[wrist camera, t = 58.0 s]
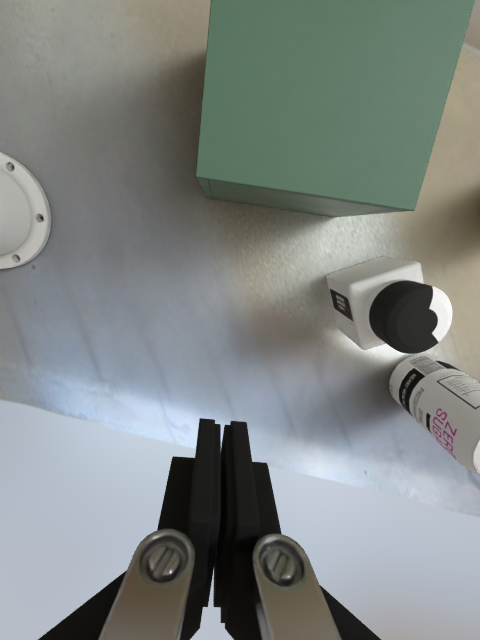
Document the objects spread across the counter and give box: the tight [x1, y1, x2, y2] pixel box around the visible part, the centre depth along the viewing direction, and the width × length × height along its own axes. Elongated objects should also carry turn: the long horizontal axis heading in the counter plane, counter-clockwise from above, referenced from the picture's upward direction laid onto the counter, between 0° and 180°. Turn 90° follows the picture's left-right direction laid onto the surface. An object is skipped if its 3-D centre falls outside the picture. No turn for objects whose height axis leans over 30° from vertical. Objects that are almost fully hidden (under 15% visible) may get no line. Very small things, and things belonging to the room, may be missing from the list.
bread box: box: [197, 178, 405, 217], centre depth 27 cm, size 15×16×15 cm
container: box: [326, 256, 452, 354], centre depth 34 cm, size 8×8×13 cm
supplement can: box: [389, 354, 480, 474], centre depth 37 cm, size 8×8×15 cm
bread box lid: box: [196, 0, 475, 211], centre depth 19 cm, size 15×16×1 cm
